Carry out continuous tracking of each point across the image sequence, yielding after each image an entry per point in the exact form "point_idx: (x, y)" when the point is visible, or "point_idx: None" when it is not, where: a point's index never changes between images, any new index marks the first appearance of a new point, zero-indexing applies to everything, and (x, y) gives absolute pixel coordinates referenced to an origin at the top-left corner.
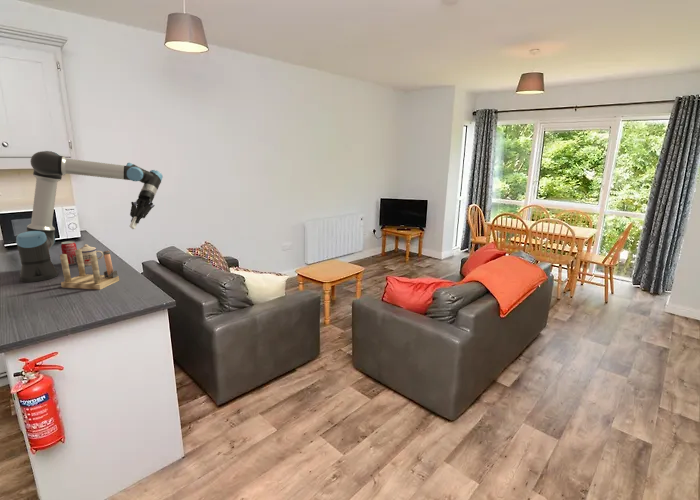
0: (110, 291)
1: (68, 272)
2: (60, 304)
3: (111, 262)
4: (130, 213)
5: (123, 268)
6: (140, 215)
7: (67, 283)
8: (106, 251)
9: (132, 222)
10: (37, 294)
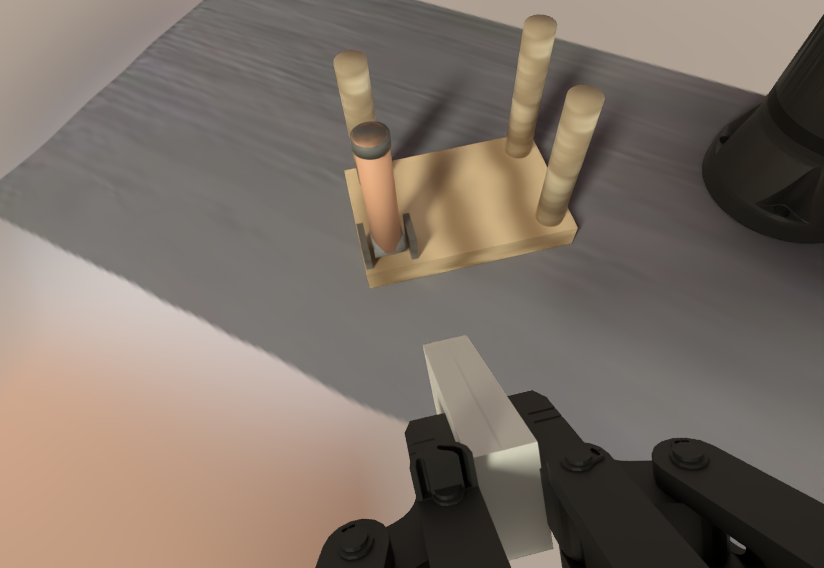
0: (289, 189)
1: (511, 114)
2: None
3: (365, 200)
4: (751, 474)
5: None
6: (411, 551)
7: (498, 140)
8: (371, 136)
9: (461, 370)
10: None
